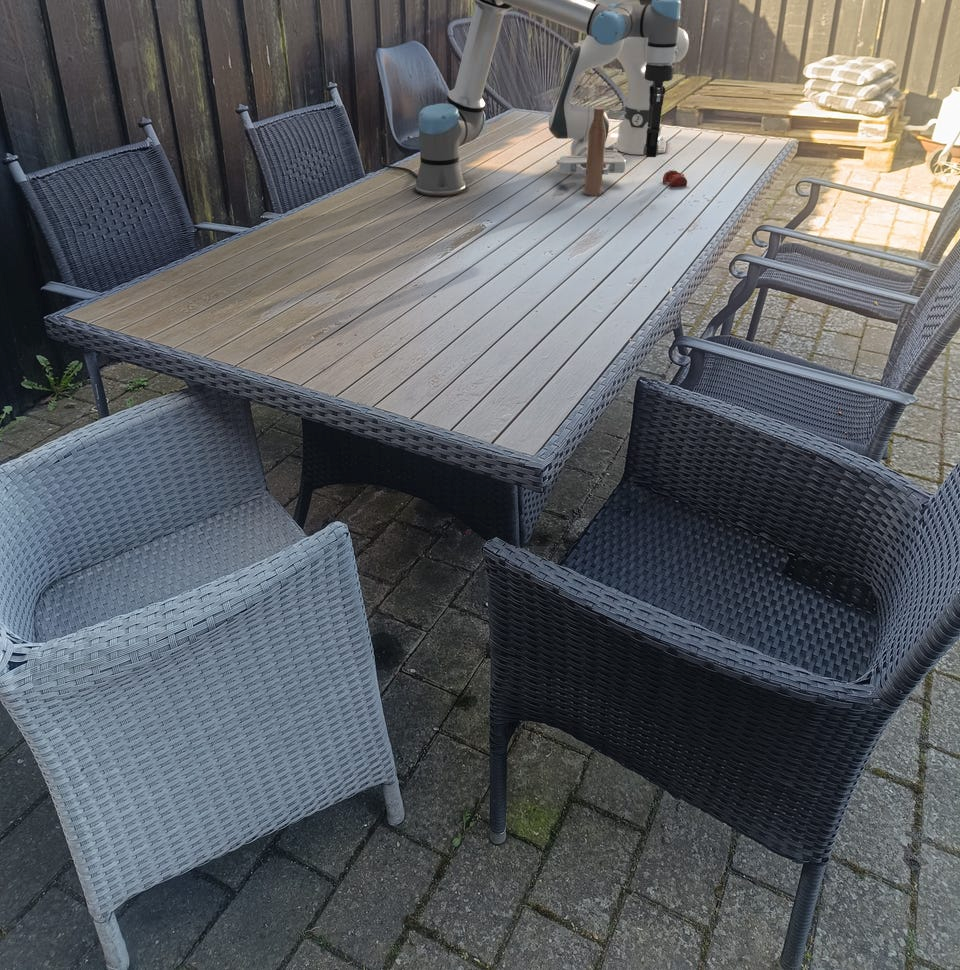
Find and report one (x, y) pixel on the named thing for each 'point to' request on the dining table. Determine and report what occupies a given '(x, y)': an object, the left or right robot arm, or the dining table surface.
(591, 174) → the bottle
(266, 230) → the dining table surface
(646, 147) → the cap
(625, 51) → the right robot arm
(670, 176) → the dental model
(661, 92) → the left robot arm
